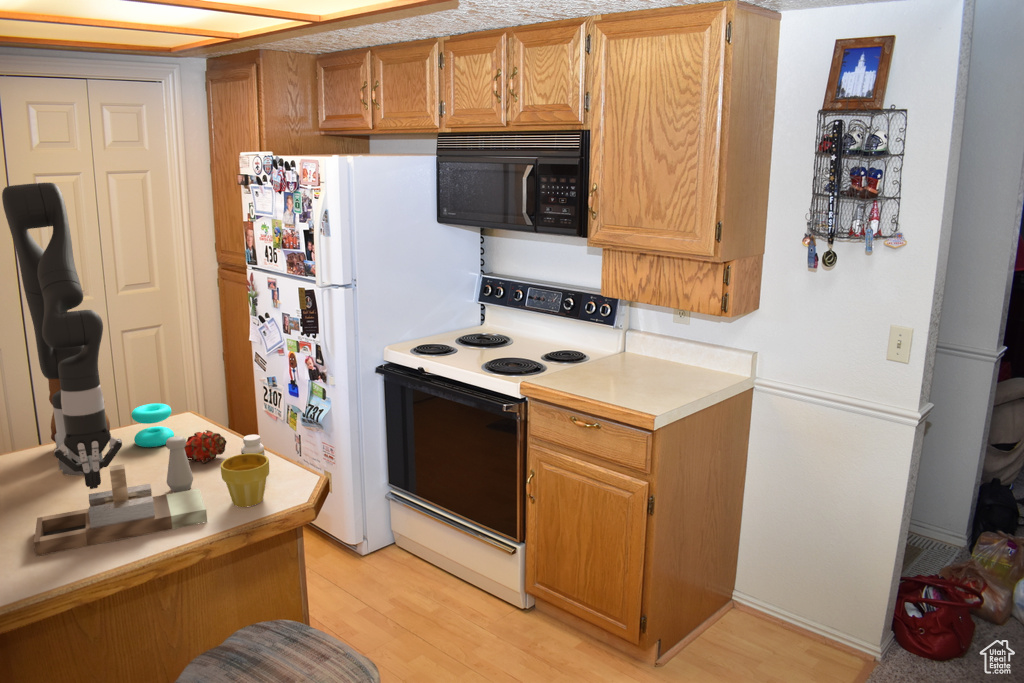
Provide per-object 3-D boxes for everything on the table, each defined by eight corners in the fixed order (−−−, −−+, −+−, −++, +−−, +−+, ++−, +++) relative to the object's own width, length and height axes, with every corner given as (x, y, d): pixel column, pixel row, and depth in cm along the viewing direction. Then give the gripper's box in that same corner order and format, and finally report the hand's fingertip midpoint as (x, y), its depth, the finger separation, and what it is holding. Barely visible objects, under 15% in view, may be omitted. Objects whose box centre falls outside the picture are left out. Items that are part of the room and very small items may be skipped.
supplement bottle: (238, 476, 193) (235, 439, 191) (253, 468, 198) (250, 432, 196) (256, 480, 191) (253, 442, 189) (270, 471, 196) (267, 435, 194)
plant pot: (252, 514, 173) (248, 473, 171) (214, 507, 177) (210, 466, 174) (280, 495, 183) (278, 456, 180) (244, 489, 186) (241, 450, 184)
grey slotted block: (91, 529, 160) (88, 513, 159) (90, 509, 169) (88, 494, 168) (155, 517, 165) (153, 501, 164) (151, 498, 174) (150, 483, 173)
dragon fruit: (232, 462, 206) (184, 476, 201) (225, 436, 210) (178, 450, 206) (228, 445, 199) (179, 459, 195) (221, 419, 204) (172, 432, 199)
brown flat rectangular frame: (36, 556, 155) (33, 542, 154) (39, 530, 165) (37, 517, 165) (207, 521, 170) (206, 509, 169) (200, 500, 180) (199, 488, 179)
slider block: (107, 522, 163) (101, 475, 160) (106, 510, 168) (100, 465, 166) (139, 516, 166) (133, 469, 163) (137, 505, 171) (132, 460, 168)
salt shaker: (184, 495, 182) (178, 443, 179) (162, 493, 184) (156, 441, 180) (199, 485, 188) (193, 434, 185) (177, 483, 189) (172, 432, 186)
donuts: (156, 399, 220) (178, 406, 215) (160, 433, 222) (182, 440, 217) (123, 409, 212) (144, 416, 207) (127, 444, 214) (148, 451, 209)
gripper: (44, 418, 153) (56, 500, 157) (120, 408, 159) (129, 488, 163) (46, 407, 159) (58, 486, 163) (119, 398, 165) (128, 475, 169)
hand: (94, 487), depth 163 cm, fingers closed
